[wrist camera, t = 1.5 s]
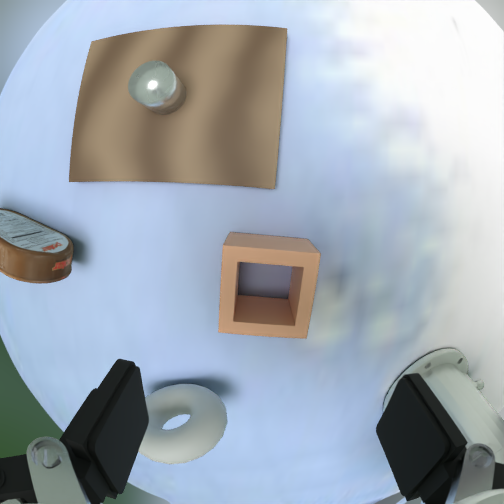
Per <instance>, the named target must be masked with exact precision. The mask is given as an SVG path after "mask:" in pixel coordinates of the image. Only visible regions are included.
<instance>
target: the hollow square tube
mask: <svg viewBox="0 0 504 504" xmlns="http://www.w3.org/2000/svg"><path fill="white" fill-rule="evenodd" d="M320 256H321V253H320V252H319V251H318V250H317V249H316V248H315V247H314V245H313V244H312V243H311V242H310V241H309V240H308V239H303V238H292V237H281V236H270V235H259V234H247V233H236V232H230V233H229V235H228V237H227V238H226V240H225V242H224V244H223V251H222V268H221V287H220V307H219V330H218V332H221V333H231V334H242V335H254V336H268V337H285V338H307V333H308V328H309V322H310V317H311V311H312V306H313V300H314V294H315V288H316V282H317V276H318V269H319V263H320ZM240 262H249V263H260V264H272V265H284V266H292V274H291V281H290V289H289V296H288V299H284V298H270V297H257V296H245V295H238V281H239V268H240Z"/></svg>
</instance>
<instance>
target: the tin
mask: <svg viewBox="0 0 504 504" xmlns="http://www.w3.org/2000/svg"><path fill="white" fill-rule="evenodd" d="M73 249H74V248H73V243H72V241H71V240H70V239H69V238H68V237H67V236H66V235H64V234H62V233H60V232H58V231H56V230H54V229H52V228H50V227H48V226H46V225H43V224H41V223H39V222H37V221H35V220H33V219H31V218H29V217H26V216H24V215H22V214H20V213H17V212H15V211H11V210H8V209H3V208H0V272H2V273H3V274H5V275H6V276H8V277H11V278H13V279H16V280H19V281H24V282H29V283H52V282H57V281H60V280H62V279H65V278H66V277H68V276H69V274H70V273H71V270H72V267H71V264H72V257H73Z"/></svg>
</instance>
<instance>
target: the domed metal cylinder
mask: <svg viewBox="0 0 504 504" xmlns="http://www.w3.org/2000/svg"><path fill="white" fill-rule="evenodd" d="M128 91H129V94H130V95H131V97H132V98H133V99H134V100H136V101H138V102H139V103H141V104H142V105H144V106H145V107H147V108H149V109H150V110H152V111H153V112H155V113H157V114H160V115H168V114H171V113H174V112H175V111H177V110H178V109H179V108H180V107H181V106H182V105H183V103H184V101H185V99H186V89H185V86H184V85H183V83H182V82H181V81H180V80H179V78H178V77H177V76H176V75H175V73H174V72H173V71H172V70H171V68H170V67H169V66H168V65H167V64H166V63H164V62H162V61H149V62H146V63H144V64H142V65H141V66H139V67H138V68H137V69H136V70H135V71H134V72H133V73H132V75H131V77H130V79H129V83H128Z"/></svg>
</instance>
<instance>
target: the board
mask: <svg viewBox="0 0 504 504" xmlns="http://www.w3.org/2000/svg"><path fill="white" fill-rule="evenodd" d="M286 40H287V28H278V27H267V26H252V25H195V26H180V27H169V28H160V29H153V30H145V31H139V32H133V33H128V34H122V35H117V36H113V37H108V38H104V39H100V40H96V41H92V42H91V45H90V49H89V52H88V56H87V60H86V64H85V68H84V72H83V77H82V81H81V86H80V91H79V96H78V102H77V108H76V114H75V121H74V128H73V137H72V146H71V157H70V172H69V182H90V181H143V182H178V183H200V184H217V185H232V186H245V187H257V188H268V189H275V182H276V170H277V159H278V147H279V135H280V123H281V110H282V97H283V84H284V70H285V56H286ZM149 61H162V62H164V63H166V64H167V65H168V66H169V67H170V68H171V70H172V71H173V72H174V73H175V75H176V76H177V77H178V78H179V80H180V81H181V82H182V83H183V85H184V86H185V89H186V99H185V101H184V103H183V105H182V106H181V107H180V108H179V109H178V110H177V111H175V112H174V113H171V114H168V115H160V114H157V113H155V112H153V111H152V110H150V109H149V108H147V107H145V106H144V105H142V104H141V103H139V102H138V101H136V100H134V99H133V98H132V97H131V95H130V94H129V91H128V83H129V79H130V77H131V75H132V73H133V72H134V71H135V70H136V69H137V68H138V67H139V66H141V65H142V64H144V63H146V62H149Z"/></svg>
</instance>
